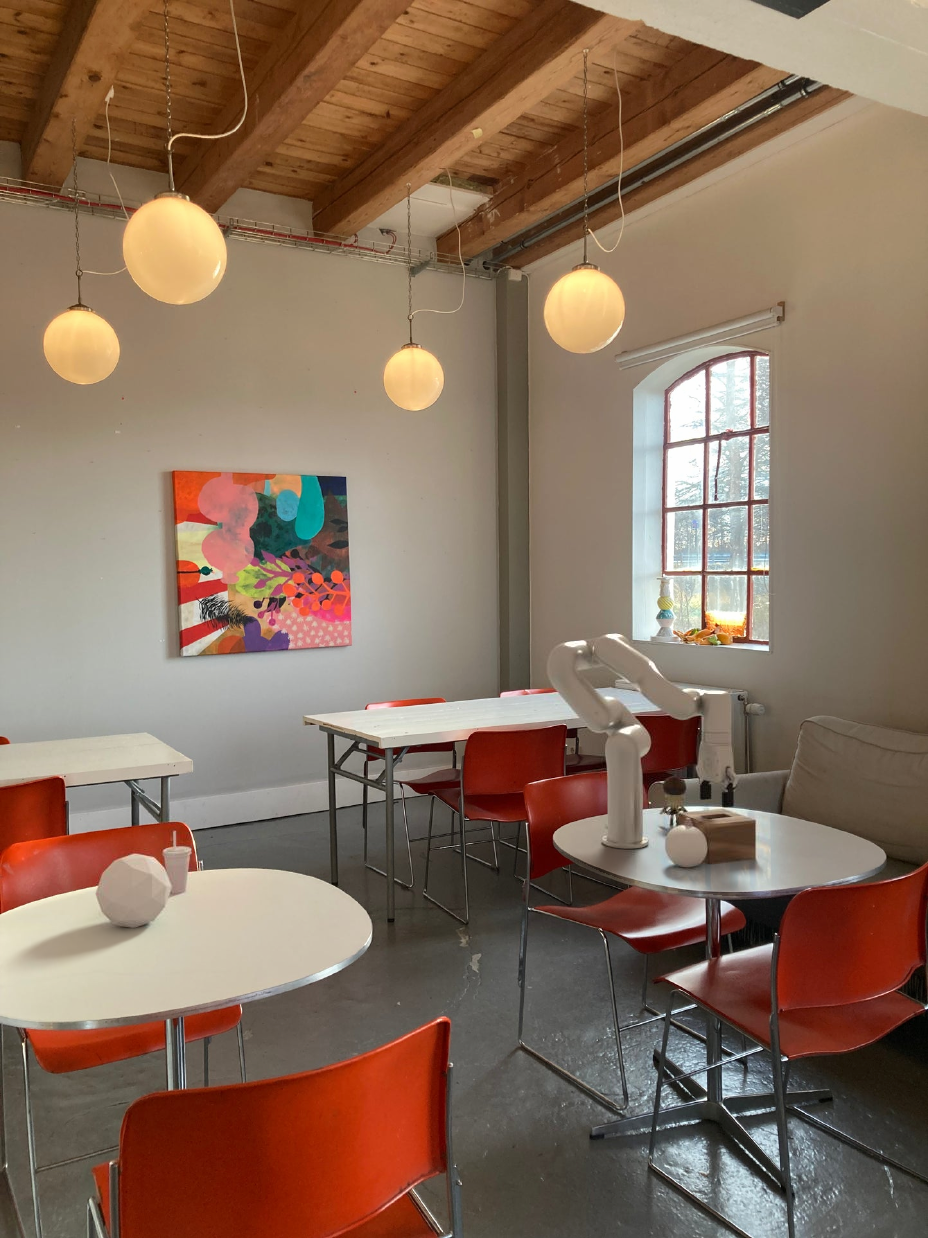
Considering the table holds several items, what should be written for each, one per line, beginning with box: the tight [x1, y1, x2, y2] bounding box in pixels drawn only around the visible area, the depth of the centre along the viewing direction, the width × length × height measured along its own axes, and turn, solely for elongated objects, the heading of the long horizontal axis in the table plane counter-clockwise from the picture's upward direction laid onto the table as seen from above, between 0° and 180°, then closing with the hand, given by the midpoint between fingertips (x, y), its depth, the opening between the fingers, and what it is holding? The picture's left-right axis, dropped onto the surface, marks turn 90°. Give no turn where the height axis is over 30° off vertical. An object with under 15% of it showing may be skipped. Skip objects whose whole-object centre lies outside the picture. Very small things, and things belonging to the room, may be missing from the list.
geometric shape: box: [95, 853, 172, 929], centre depth 190 cm, size 14×15×15 cm
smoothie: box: [162, 830, 192, 895], centre depth 211 cm, size 6×6×14 cm
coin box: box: [678, 808, 757, 865], centre depth 240 cm, size 14×14×10 cm
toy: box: [659, 775, 689, 827], centre depth 271 cm, size 9×7×15 cm
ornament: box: [664, 818, 707, 868], centre depth 229 cm, size 10×10×12 cm
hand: (716, 803), depth 240 cm, fingers open, 9 cm apart
